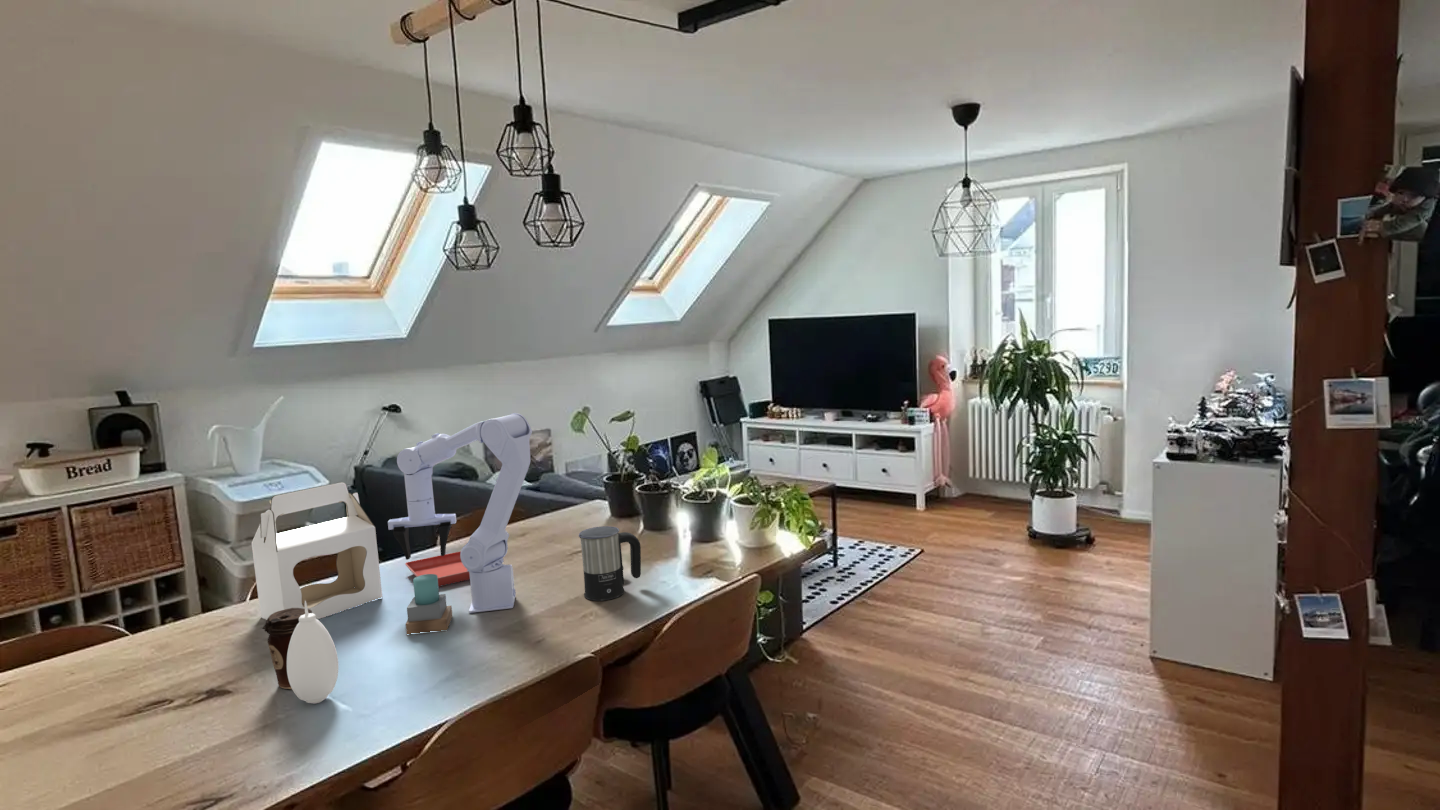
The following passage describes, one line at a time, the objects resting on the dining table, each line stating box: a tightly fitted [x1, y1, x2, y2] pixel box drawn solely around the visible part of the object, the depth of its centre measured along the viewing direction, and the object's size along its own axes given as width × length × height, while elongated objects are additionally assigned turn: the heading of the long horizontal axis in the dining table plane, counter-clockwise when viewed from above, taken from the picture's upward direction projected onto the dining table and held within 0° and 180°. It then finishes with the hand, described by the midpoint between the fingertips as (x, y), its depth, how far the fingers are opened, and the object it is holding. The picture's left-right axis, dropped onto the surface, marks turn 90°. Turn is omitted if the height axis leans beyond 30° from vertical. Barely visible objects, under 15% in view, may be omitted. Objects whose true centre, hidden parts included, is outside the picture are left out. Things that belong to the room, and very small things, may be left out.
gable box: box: [251, 481, 383, 621], centre depth 181 cm, size 22×13×28 cm, turn 141°
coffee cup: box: [262, 608, 317, 690], centre depth 144 cm, size 9×8×13 cm
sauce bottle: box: [287, 601, 340, 705], centre depth 136 cm, size 8×8×18 cm
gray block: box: [406, 593, 448, 622], centre depth 168 cm, size 6×6×3 cm
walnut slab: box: [405, 605, 453, 635], centre depth 168 cm, size 8×8×3 cm
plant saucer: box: [404, 550, 470, 587], centre depth 201 cm, size 18×18×3 cm
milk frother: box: [578, 525, 642, 602], centre depth 185 cm, size 14×16×15 cm
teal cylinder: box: [412, 574, 440, 605], centre depth 167 cm, size 5×5×5 cm
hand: (425, 556), depth 182 cm, fingers open, 7 cm apart
